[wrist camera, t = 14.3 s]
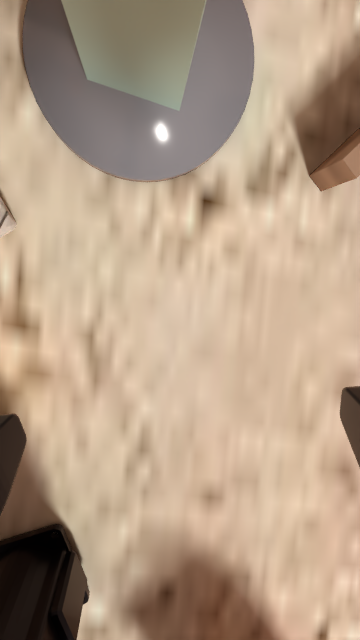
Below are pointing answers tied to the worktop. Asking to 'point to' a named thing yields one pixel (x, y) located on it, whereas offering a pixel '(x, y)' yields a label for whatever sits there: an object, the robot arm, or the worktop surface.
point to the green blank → (137, 44)
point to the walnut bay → (339, 165)
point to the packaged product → (6, 220)
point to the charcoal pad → (137, 113)
